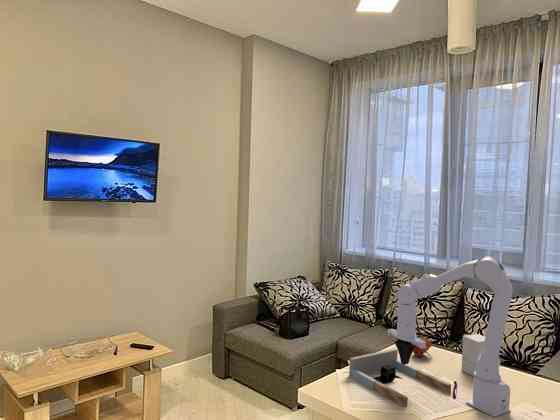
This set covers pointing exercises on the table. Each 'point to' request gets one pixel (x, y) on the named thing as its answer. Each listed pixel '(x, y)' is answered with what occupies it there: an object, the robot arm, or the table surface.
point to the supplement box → (471, 352)
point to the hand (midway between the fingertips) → (404, 363)
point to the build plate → (387, 375)
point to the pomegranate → (419, 351)
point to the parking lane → (389, 357)
